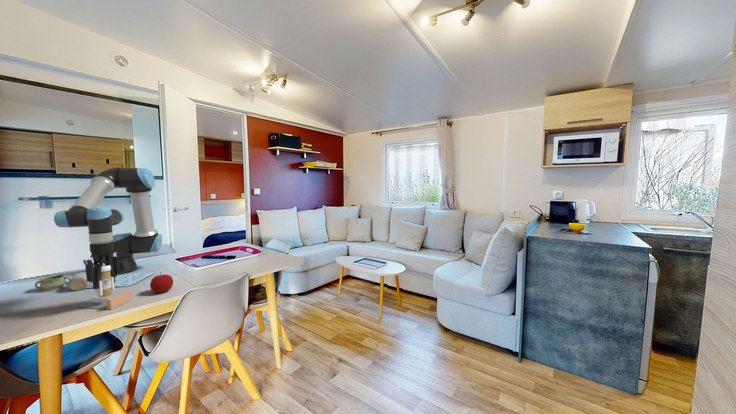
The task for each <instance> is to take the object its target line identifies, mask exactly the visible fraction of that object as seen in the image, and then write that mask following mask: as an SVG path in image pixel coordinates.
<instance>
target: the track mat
mask: <svg viewBox="0 0 736 414" xmlns="http://www.w3.org/2000/svg"><path fill="white" fill-rule="evenodd" d="M131 301H132V291H125V292H123V293H120V294H118V295H115V296H113V297H110V298H105V297H91V298H89V299H86V300H83V301H81V302H78V303H76V304H72V305H70V308H79V309H96V310H97V309H98V310H113V309H116V308H118V307H120V306H122V305H123V306H124V305H125V304H128V303H130V302H131Z"/></svg>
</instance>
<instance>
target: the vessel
mask: <svg viewBox="0 0 736 414" xmlns="http://www.w3.org/2000/svg"><path fill="white" fill-rule="evenodd" d="M70 279H71V278H70V276H66V274H54V275H48V276H44V277H41V278H40V279H39V280H38V281H35V284H34V287H35V288H36V290H38V291H40V290H42V292H44V293H48V292H55V291H59V290H62V289H64V288H65V286H68V282H69V281H70ZM67 280H68V281H67ZM38 285H39V286H38ZM64 285H65V286H64Z"/></svg>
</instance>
